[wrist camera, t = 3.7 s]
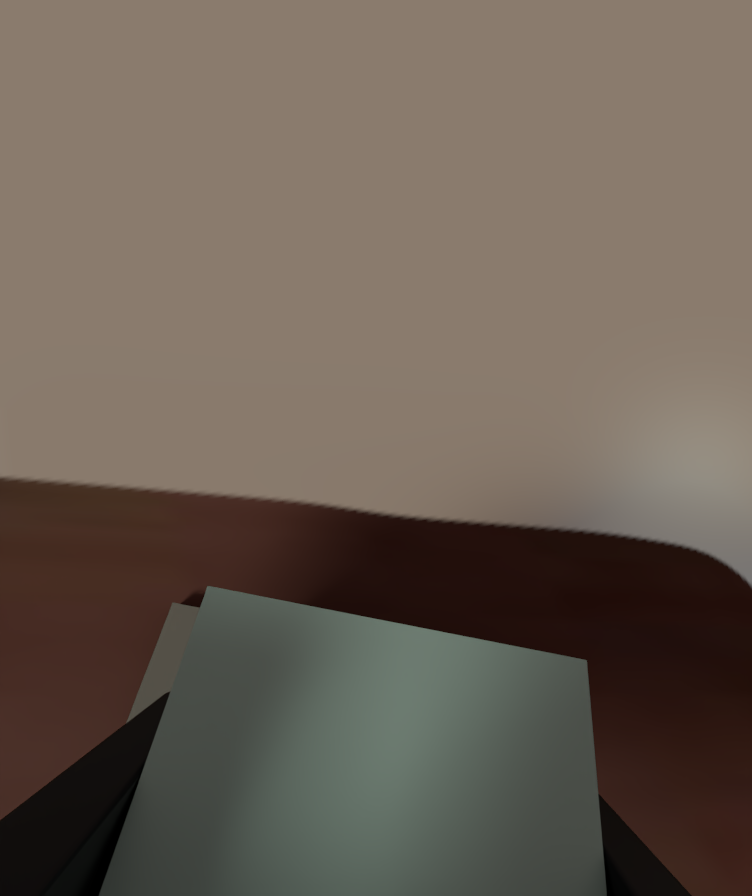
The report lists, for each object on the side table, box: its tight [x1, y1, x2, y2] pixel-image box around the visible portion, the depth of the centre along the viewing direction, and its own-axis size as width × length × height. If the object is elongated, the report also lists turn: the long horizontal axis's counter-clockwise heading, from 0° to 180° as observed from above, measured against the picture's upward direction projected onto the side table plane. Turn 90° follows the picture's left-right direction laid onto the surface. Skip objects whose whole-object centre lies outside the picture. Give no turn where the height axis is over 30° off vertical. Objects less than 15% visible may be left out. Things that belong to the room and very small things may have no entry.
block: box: [99, 586, 607, 896], centre depth 9 cm, size 6×6×8 cm
